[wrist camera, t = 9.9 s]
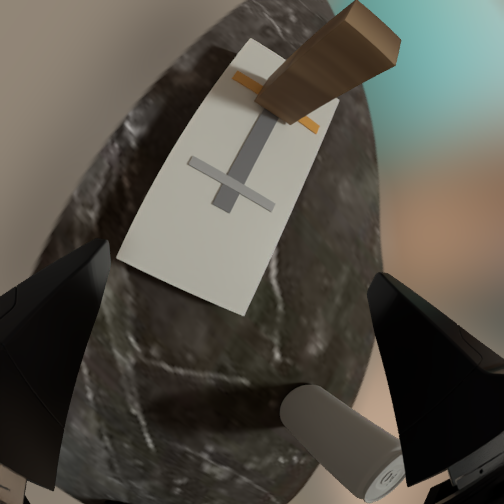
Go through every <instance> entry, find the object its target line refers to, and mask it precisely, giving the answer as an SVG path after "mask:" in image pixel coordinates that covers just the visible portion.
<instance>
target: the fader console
mask: <svg viewBox="0 0 504 504" xmlns="http://www.w3.org/2000/svg"><path fill="white" fill-rule="evenodd" d="M285 61H286V60H285V59H283V58H282V57H280V56H279V55H277V54H276V53H274V52H273V51H271V50H269V49H268V48H266V47H265V46H263V45H261V44H260V43H258V42H256V41H255V40H253V39H251V38H250V39H249V41H248V42H247V43H246V44H245V46H244V47H243V48H242V49H241V51H240V52H239V53H238V54H237V56H236V57H235V58H234V59H233V61H232V62H231V63H230V65H229V66H228V67H227V69H226V70H225V71H224V73H223V74H222V75H221V77H220V78H219V80H218V81H217V82H216V84H215V85H214V86H213V88H212V89H211V91H210V92H209V94H208V95H207V96H206V98H205V99H204V101H203V102H202V104H201V105H200V107H199V108H198V110H197V111H196V113H195V114H194V116H193V117H192V119H191V120H190V122H189V123H188V125H187V127H186V128H185V130H184V131H183V133H182V134H181V136H180V138H179V139H178V141H177V143H176V144H175V146H174V147H173V149H172V151H171V153H170V154H169V156H168V158H167V159H166V161H165V163H164V164H163V166H162V168H161V170H160V171H159V173H158V175H157V177H156V179H155V180H154V182H153V184H152V186H151V188H150V190H149V191H148V193H147V195H146V197H145V199H144V201H143V203H142V205H141V207H140V209H139V211H138V213H137V215H136V217H135V219H134V221H133V223H132V225H131V227H130V229H129V231H128V233H127V235H126V237H125V239H124V241H123V244H122V246H121V248H120V250H119V252H118V255H117V257H116V258H117V259H119V260H121V261H123V262H125V263H127V264H129V265H131V266H133V267H135V268H137V269H139V270H141V271H143V272H145V273H148V274H150V275H152V276H154V277H156V278H158V279H160V280H162V281H164V282H167V283H169V284H171V285H173V286H175V287H178V288H180V289H182V290H184V291H186V292H189V293H191V294H193V295H195V296H198V297H200V298H202V299H204V300H207V301H209V302H211V303H214V304H216V305H218V306H221V307H223V308H225V309H228V310H230V311H232V312H235V313H237V314H240V315H242V316H244V315H245V313H246V311H247V308H248V306H249V304H250V302H251V300H252V298H253V295H254V293H255V291H256V289H257V287H258V285H259V282H260V280H261V278H262V276H263V274H264V272H265V269H266V267H267V265H268V263H269V261H270V258H271V256H272V254H273V252H274V250H275V247H276V245H277V243H278V241H279V238H280V236H281V234H282V232H283V230H284V227H285V225H286V223H287V221H288V218H289V216H290V214H291V212H292V209H293V207H294V205H295V203H296V200H297V198H298V196H299V194H300V191H301V189H302V187H303V184H304V182H305V180H306V178H307V175H308V173H309V171H310V168H311V166H312V164H313V161H314V159H315V157H316V154H317V152H318V150H319V148H320V145H321V143H322V141H323V138H324V136H325V133H326V131H327V129H328V126H329V124H330V122H331V119H332V117H333V115H334V112H335V110H336V107H337V105H338V103H339V99H337V98H335V99H333V100H331V101H330V102H328V103H326V104H325V105H323V106H321V107H319V108H318V109H316V110H314V111H313V112H311V113H310V114H308V115H306V116H305V117H303V118H301V119H300V120H298V121H297V122H295V123H293V124H292V125H289V124H287V123H286V122H285V121H283V120H282V119H280V118H279V117H277V116H276V115H274V114H273V113H271V112H270V111H268V110H267V109H265V108H263V107H262V106H260V105H259V104H257V103H256V102H254V100H255V99H256V97H257V95H258V94H259V92H260V91H261V89H262V87H263V86H264V84H265V83H266V81H267V79H268V78H269V77H270V76H271V75H272V74H273V73H274V72H275V71H276V70H277V69H278V68H279V67H280V66H281V65H282V64H283V63H284V62H285Z"/></svg>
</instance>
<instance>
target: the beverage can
mask: <svg viewBox="0 0 504 504" xmlns="http://www.w3.org/2000/svg"><path fill="white" fill-rule="evenodd" d="M280 419H281V421H282V423H283V425H284V426H285V427H286V428H287V429H288V430H289V431H290V432H291V433H292V434H293V435H294V436H295V437H296V438H297V439H298V441H299V442H300V443H301V444H302V445H303V446H304V447H305V448H306V449H307V450H308V451H309V452H310V453H311V454H312V455H313V457H314V458H315V459H316V460H317V461H318V462H319V463H320V464H321V465H322V466H323V467H325V469H326V470H328V471H329V472H330V473H331V474H332V475H333V476H334V477H335V478H336V479H337V480H338V481H339V482H340V483H341V484H342V485H343V486H345V487H346V488H347V489H348V490H349V491H350V492H351V493H352V494H353V495H355V496H356V497H357V498H359V499H363V500H364V501H365V502H366V503H373V502H376V501H378V500H380V499H382V498H383V497H385V496H386V495H388V494H389V493H390V492H391V491H393V490H394V489H395V488H396V487H397V486H398V485H399V484H400V483H401V482H402V481H403V479H404V478H405V470H404V463H403V457H402V450H401V445H400V440H399V439H398V438H396V437H394V436H393V435H391V434H390V433H388V432H387V431H385V430H384V429H382V428H380V427H379V426H377V425H375V424H374V423H373V422H371V421H370V420H368V419H367V418H365V417H363V416H362V415H360V414H359V413H357V412H356V411H355V410H353V409H352V408H350V407H349V406H347V405H346V404H344V403H343V402H341V401H340V400H338V399H337V398H336V397H334V396H333V395H331V394H330V393H329V392H327V391H326V390H324V389H323V388H322V387H320V386H317V385H303V386H300V387H298V388H295V389H294V390H292V391H291V392H290V393H289V394H288V395H287V396H286V397H285V399H284V400H283V402H282V404H281V407H280Z"/></svg>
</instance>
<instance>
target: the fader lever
mask: <svg viewBox="0 0 504 504" xmlns="http://www.w3.org/2000/svg"><path fill="white" fill-rule="evenodd" d="M400 44H401V39H400V38H399V37H398V36H397V35H396V34H395V33H394V32H393V31H392V30H391V29H390V28H389V27H388V26H386V24H384V23H383V22H382V21H381V20H380V19H379V18H378V17H377V16H375V15H374V14H373V13H372V12H371V11H370V10H369V9H367V8H366V7H365V6H364V5H363V4H361V3H360V2H359V1H358V0H355V1H354V2H352V3H351V4H350V5H348V6H347V7H346V8H345V9H343V10H342V11H341V12H340V13H339V14H337V15H336V16H335V17H334V18H333V19H331V20H330V21H329V22H328V23H327V24H325V25H324V26H323V27H322V28H321V29H320V30H319V31H317V32H316V33H315V34H314V35H313V36H312V37H311V38H310V39H308V40H307V41H306V42H305V43H304V44H303V45H302V46H301V47H300V48H299V49H298V50H296V51H295V52H294V53H293V54H292V55H291V56H290V57H289V58H288V59H287V60H286V61H285V62H284V63H283V64H282V65H281V66H280V67H279V68H278V69H277V70H276V71H275V72H274V73H273V74H272V75H271V76H270V77H269V78H268V79H267V81H266V83H265V84H264V86H263V87H262V89H261V91H260V92H259V94H258V95H257V97H256V99H255V100H254V102H256V103H257V104H259V105H260V106H262V107H263V108H265V109H267V110H268V111H270V112H271V113H273V114H274V115H276V116H277V117H279V118H280V119H282V120H283V121H285V122H286V123H287V124H289V125H292V124H293V123H295V122H297V121H298V120H300V119H301V118H303V117H305V116H306V115H308V114H310V113H311V112H313V111H314V110H316V109H318V108H319V107H321V106H323V105H325V104H326V103H328V102H330V101H331V100H333V99H335V98H337V97H338V96H340V95H342V94H344V93H345V92H347V91H349V90H351V89H352V88H354V87H356V86H358V85H360V84H362V83H363V82H365V81H367V80H369V79H371V78H373V77H375V76H376V75H378V74H380V73H382V72H384V71H386V70H388V69H390V68H392V67H394V66H396V62H397V57H398V53H399V49H400Z"/></svg>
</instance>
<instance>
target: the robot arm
mask: <svg viewBox="0 0 504 504" xmlns="http://www.w3.org/2000/svg"><path fill="white" fill-rule="evenodd" d="M110 266H111V259H110V249H109V242H108V240H106V239H98V238H96V239H94V240H92V241H90V242H88V243H87V244H85V245H83V246H81V247H79V248H78V249H76V250H74V251H72V252H71V253H69V254H67V255H66V256H64V257H62V258H60V259H59V260H57V261H55V262H54V263H52V264H50V265H49V266H47V267H45V268H44V269H42V270H40V271H39V272H37V273H36V274H34V275H32V276H31V277H29V278H28V279H26V280H25V281H23V282H21V283H20V284H18V285H17V287H14V288H12V289H11V290H9V291H8V292H6V293H5V294H3V295H2V296H0V504H30V503H29V501H28V499H27V498H26V496H25V490H26V483H27V481H30V482H32V483H34V484H36V485H39V486H41V487H44V488H46V489H49V490H51V491H54V488H55V481H56V473H57V466H58V460H59V454H60V448H61V443H62V438H63V433H64V427H65V423H66V418H67V414H68V410H69V406H70V402H71V398H72V394H73V390H74V386H75V383H76V379H77V375H78V372H79V369H80V365H81V362H82V359H83V355H84V352H85V349H86V346H87V343H88V340H89V337H90V334H91V331H92V328H93V325H94V323H95V320H96V317H97V314H98V311H99V308H100V305H101V301H102V297H103V293H104V289H105V285H106V282H107V278H108V274H109V271H110ZM367 298H368V303H369V308H370V313H371V318H372V323H373V328H374V333H375V336H376V340H377V343H378V347H379V351H380V355H381V358H382V362H383V366H384V369H385V374H386V377H387V381H388V385H389V390H390V395H391V398H392V403H393V408H394V412H395V418H396V422H397V427H398V433H399V439H400V445H401V450H402V457H403V463H404V470H405V477H406V483H407V487H410V486H412V485H415V484H418V483H420V482H422V481H425V480H427V479H429V478H431V477H434V476H436V475H438V474H440V473H442V472H444V471H446V470H447V471H448V474H449V477H450V479H448V480H446V481H444V482H442V483H440V484H438V485H436V486H434V487H432V488H430V491H429V493H428V495H427V498H426V500H425V502H424V504H504V359H503V358H502V357H500V356H499V355H498V354H496V353H495V352H493V351H492V350H491V349H490V348H488V347H487V346H485V345H484V344H483V343H481V342H480V341H479V340H477V339H476V338H475V337H473V336H472V335H471V334H469V333H468V332H467V331H465V330H464V329H463V328H462V327H460V326H459V325H457V324H456V323H455V322H454V321H453V320H451V319H450V318H449V317H447V316H446V315H445V314H443V313H442V312H441V311H440V310H438V309H437V308H436V307H434V306H433V305H431V304H430V303H429V302H427V301H426V300H425V299H423V298H422V297H421V296H419V295H418V294H416V293H415V292H414V291H412V290H411V289H410V288H408V287H407V286H405V285H404V284H403V283H401V282H400V281H398V280H397V279H395V278H394V277H393V276H391V275H390V274H388V273H383V272H379V273H377V274H376V275H375V277H374V279H373V281H372V283H371V285H370V287H369V289H368V291H367ZM105 504H119V503H115V502H111V501H106V502H105Z"/></svg>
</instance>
